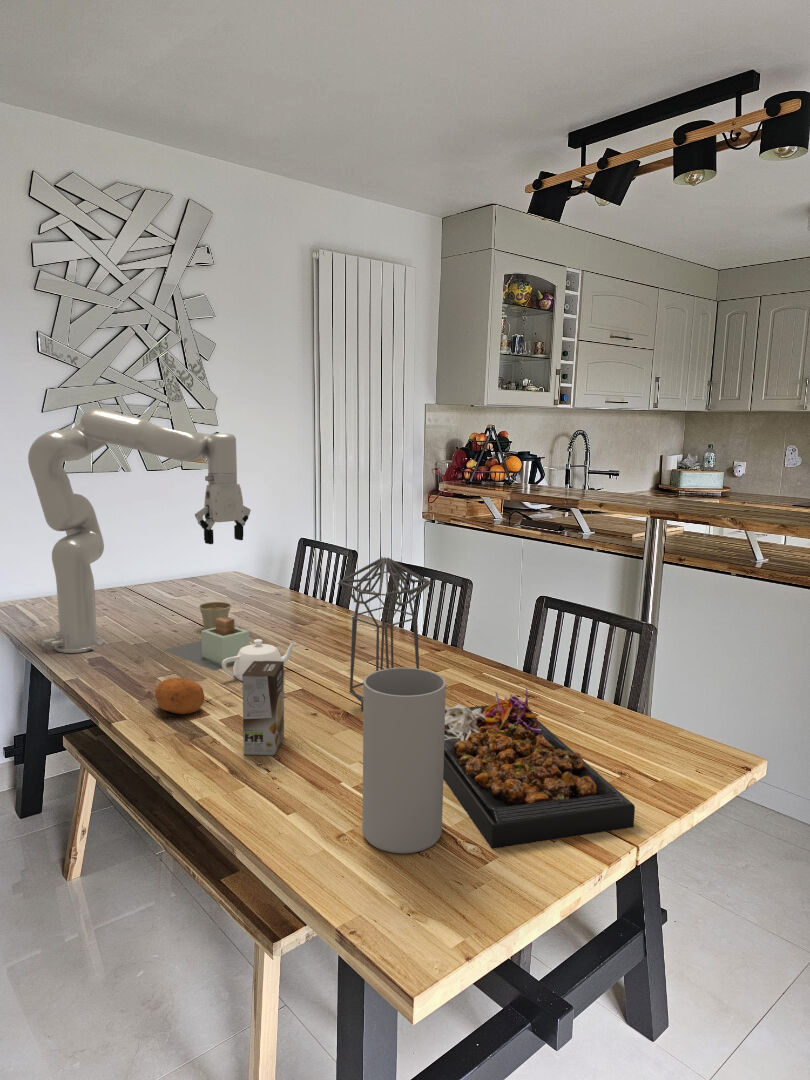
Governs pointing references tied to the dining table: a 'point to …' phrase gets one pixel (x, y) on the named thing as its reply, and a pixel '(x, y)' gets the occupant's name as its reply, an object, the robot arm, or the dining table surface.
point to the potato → (179, 695)
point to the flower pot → (213, 613)
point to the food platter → (524, 778)
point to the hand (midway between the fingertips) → (224, 541)
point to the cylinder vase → (403, 758)
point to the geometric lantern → (399, 574)
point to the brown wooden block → (225, 626)
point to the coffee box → (263, 707)
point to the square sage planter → (222, 645)
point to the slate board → (193, 654)
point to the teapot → (254, 657)
